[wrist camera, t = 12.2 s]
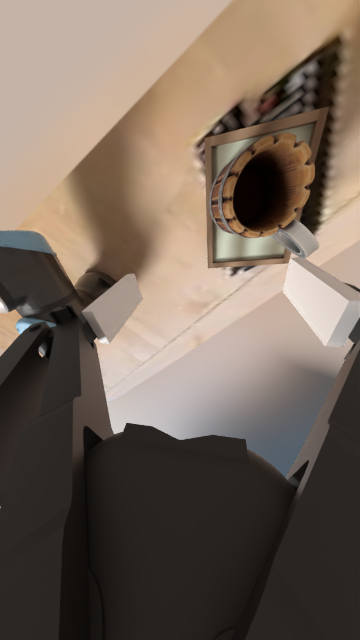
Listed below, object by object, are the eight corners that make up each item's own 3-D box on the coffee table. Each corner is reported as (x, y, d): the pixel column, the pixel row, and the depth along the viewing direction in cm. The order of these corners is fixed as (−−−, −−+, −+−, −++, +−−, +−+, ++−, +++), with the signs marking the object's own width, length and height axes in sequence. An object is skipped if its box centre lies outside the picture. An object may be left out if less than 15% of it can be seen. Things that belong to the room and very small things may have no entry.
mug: (196, 205, 29) (194, 203, 17) (243, 137, 24) (288, 63, 12) (251, 261, 34) (281, 291, 22) (301, 214, 28) (377, 219, 16)
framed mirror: (209, 261, 40) (208, 268, 36) (206, 147, 28) (204, 138, 24) (280, 256, 36) (288, 263, 32) (311, 122, 25) (329, 106, 20)
